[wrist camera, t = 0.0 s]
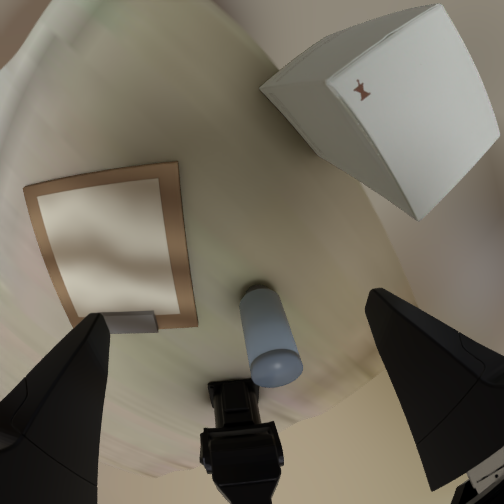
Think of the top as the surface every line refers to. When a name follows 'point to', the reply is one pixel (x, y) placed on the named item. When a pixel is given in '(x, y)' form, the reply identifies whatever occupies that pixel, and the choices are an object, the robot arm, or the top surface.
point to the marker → (268, 339)
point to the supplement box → (391, 105)
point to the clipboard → (117, 246)
